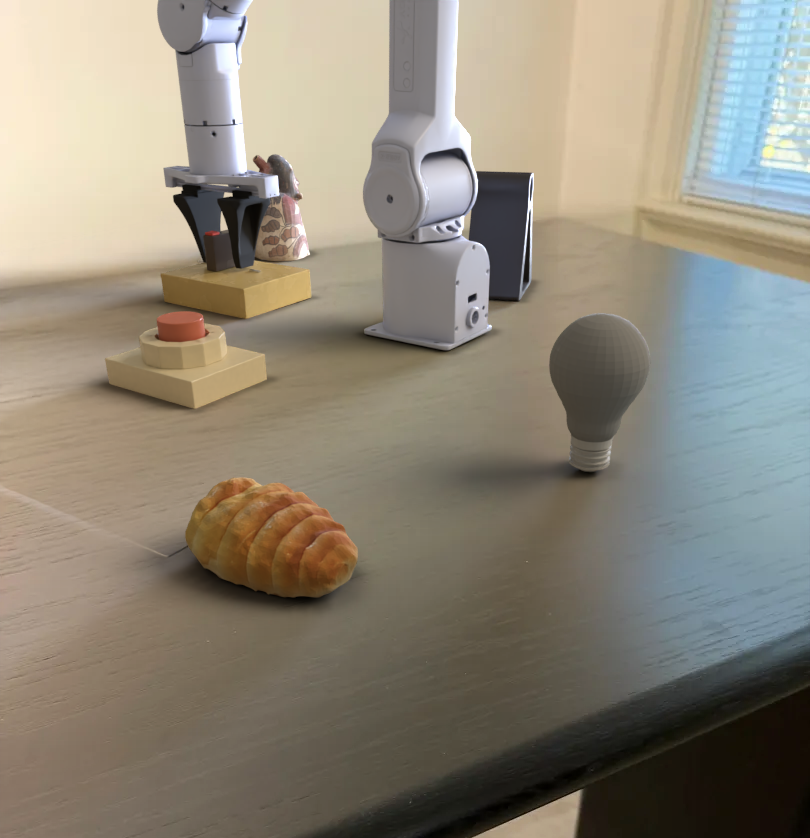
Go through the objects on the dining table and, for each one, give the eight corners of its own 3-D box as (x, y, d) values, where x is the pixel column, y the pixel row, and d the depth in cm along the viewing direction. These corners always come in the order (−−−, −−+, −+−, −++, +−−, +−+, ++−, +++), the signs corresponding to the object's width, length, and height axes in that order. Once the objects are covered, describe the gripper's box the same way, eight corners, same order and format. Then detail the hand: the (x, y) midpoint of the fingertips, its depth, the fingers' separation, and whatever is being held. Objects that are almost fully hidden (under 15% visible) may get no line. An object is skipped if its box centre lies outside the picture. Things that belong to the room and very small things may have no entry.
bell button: (215, 337, 71) (212, 315, 70) (181, 348, 68) (178, 326, 67) (184, 330, 73) (181, 308, 72) (150, 341, 70) (146, 319, 69)
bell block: (267, 379, 73) (263, 331, 71) (194, 409, 67) (188, 358, 65) (183, 358, 78) (177, 313, 76) (108, 384, 72) (100, 336, 70)
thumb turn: (240, 261, 97) (236, 224, 95) (249, 263, 96) (246, 226, 94) (206, 270, 93) (202, 232, 92) (216, 272, 93) (211, 233, 91)
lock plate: (311, 297, 95) (309, 267, 94) (246, 319, 88) (243, 287, 87) (227, 282, 102) (224, 253, 100) (160, 301, 94) (156, 271, 93)
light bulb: (571, 442, 61) (584, 296, 56) (652, 465, 58) (673, 312, 53) (523, 471, 57) (533, 317, 52) (607, 498, 54) (626, 335, 49)
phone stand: (518, 301, 93) (525, 179, 87) (463, 298, 95) (465, 177, 89) (531, 281, 101) (538, 167, 95) (480, 278, 102) (483, 166, 96)
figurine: (316, 258, 112) (310, 155, 106) (260, 263, 110) (251, 158, 104) (300, 247, 118) (294, 149, 112) (247, 252, 115) (238, 152, 109)
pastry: (389, 566, 47) (387, 502, 45) (301, 626, 42) (294, 558, 40) (264, 516, 52) (257, 457, 50) (173, 565, 47) (162, 501, 45)
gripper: (133, 123, 89) (153, 262, 96) (237, 130, 82) (251, 280, 88) (186, 118, 94) (202, 250, 101) (288, 124, 86) (298, 266, 93)
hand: (228, 263), depth 95 cm, fingers open, 4 cm apart
